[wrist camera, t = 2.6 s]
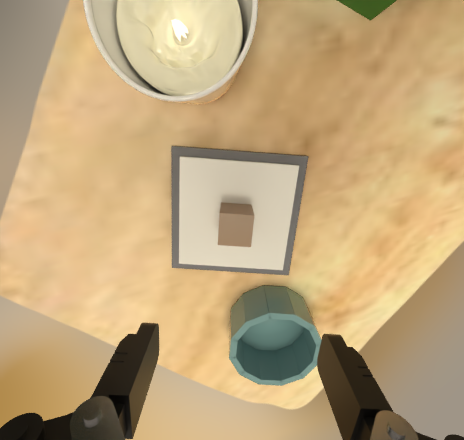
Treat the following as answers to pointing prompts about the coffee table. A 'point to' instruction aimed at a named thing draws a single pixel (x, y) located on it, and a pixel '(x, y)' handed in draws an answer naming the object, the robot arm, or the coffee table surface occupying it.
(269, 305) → the teal pet bowl
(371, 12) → the hardback book
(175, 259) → the rubber mat
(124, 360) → the robot arm
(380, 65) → the coffee table surface
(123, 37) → the candle holder
